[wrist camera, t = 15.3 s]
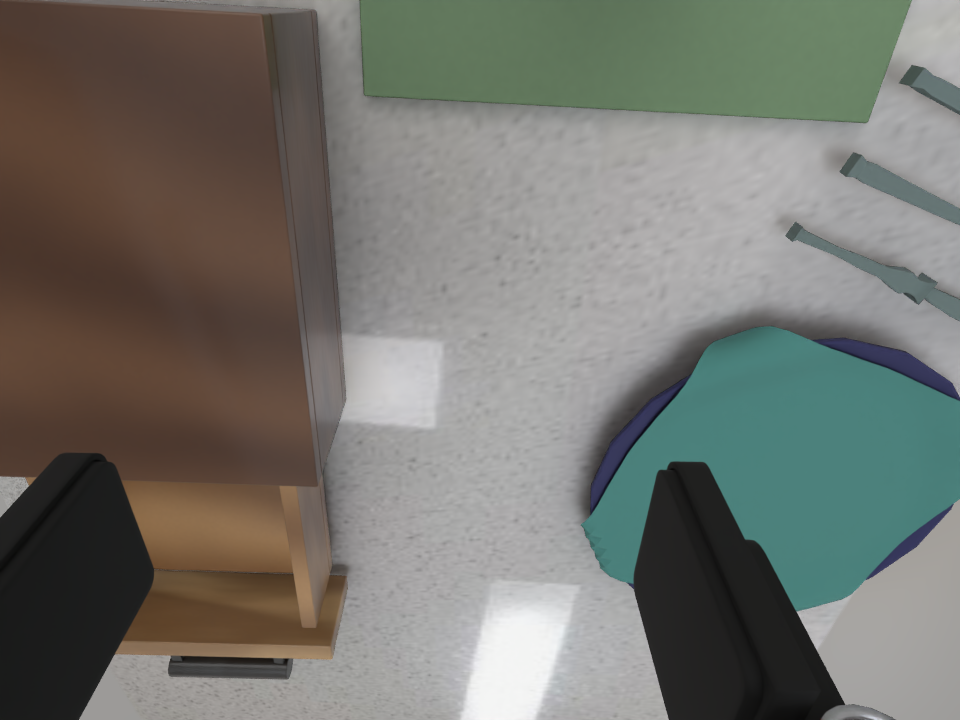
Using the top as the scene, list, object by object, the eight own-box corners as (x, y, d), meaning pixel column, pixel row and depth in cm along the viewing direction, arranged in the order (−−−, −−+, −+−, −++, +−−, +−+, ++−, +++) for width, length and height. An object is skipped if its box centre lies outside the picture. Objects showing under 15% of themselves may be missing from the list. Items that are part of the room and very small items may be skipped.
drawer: (352, 629, 40) (337, 702, 36) (146, 624, 39) (107, 697, 35) (327, 362, 29) (302, 422, 25) (44, 351, 29) (-28, 410, 25)
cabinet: (346, 399, 31) (318, 487, 26) (61, 388, 31) (-32, 476, 25) (316, 10, 22) (262, 13, 17) (-88, -14, 22) (-285, -19, 16)
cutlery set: (526, 541, 37) (528, 572, 35) (869, 21, 22) (907, 25, 20) (791, 617, 41) (807, 649, 39) (1230, 222, 26) (1291, 241, 24)
